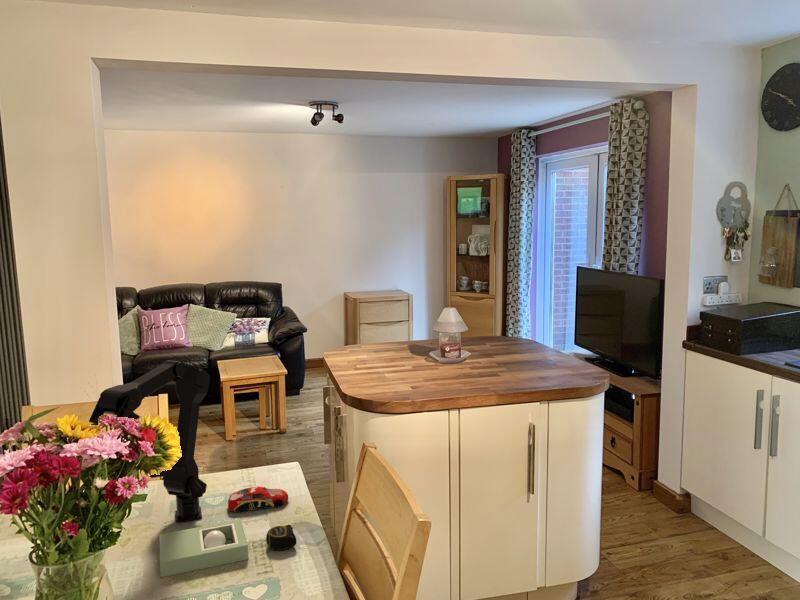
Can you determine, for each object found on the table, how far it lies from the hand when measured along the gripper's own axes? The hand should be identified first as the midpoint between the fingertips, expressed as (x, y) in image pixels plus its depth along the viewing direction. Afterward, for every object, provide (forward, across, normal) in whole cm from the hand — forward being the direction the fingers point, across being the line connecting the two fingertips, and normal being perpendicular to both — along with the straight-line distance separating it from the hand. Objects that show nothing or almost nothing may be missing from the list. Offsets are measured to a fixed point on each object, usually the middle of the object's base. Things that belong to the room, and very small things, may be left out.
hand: (125, 507), depth 140 cm
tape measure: (+12, +35, -9) cm, 38 cm away
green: (+12, +16, -6) cm, 21 cm away
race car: (+12, +32, +14) cm, 37 cm away
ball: (+10, +19, -6) cm, 22 cm away
